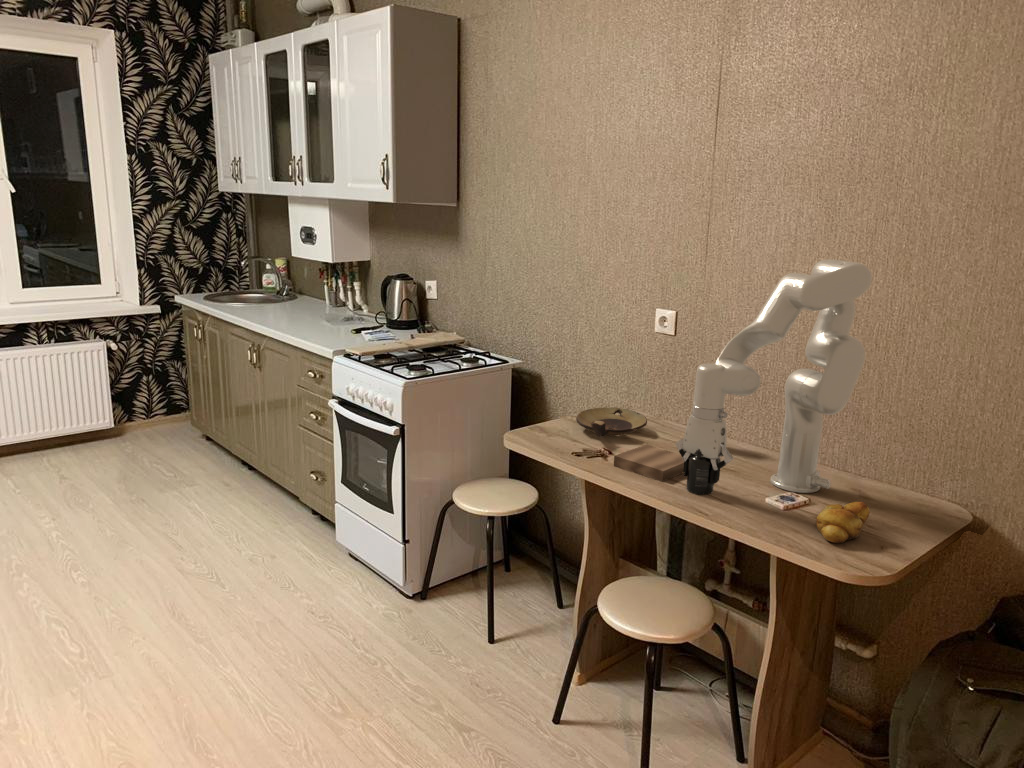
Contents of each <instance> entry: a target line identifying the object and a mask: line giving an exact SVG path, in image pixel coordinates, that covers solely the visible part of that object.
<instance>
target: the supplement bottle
mask: <svg viewBox="0 0 1024 768" xmlns="http://www.w3.org/2000/svg"><path fill="white" fill-rule="evenodd" d="M694 454H695V455H694ZM694 454H693V455H691V456H690V458H689V464H688V475H687V476H686V490H687V491H688V492H689V493H692V494H695V495H700V496H701V495H702V496H703V495H704V496H705V495H710V494H712V493H713V492H714V487H715V486H714V485H715V484H713V485H711V484H710V483H709V482H710V473H711V469H713V466H712V463H711V460H710V459H708V458H705V457H703V454H702V452H700V449H698V450H696V452H695V453H694Z"/></svg>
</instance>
